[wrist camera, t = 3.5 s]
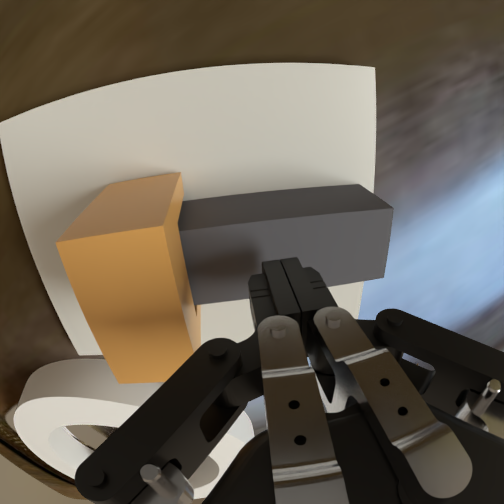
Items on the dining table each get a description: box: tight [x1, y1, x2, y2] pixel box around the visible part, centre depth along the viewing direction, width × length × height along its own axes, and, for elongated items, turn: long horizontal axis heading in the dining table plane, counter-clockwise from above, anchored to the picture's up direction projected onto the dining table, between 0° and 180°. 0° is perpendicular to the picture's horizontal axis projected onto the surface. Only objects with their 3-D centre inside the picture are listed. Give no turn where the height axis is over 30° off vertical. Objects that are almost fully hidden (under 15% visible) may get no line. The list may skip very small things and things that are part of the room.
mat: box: [0, 63, 376, 355], centre depth 18 cm, size 18×22×2 cm
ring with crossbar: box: [14, 359, 254, 499], centre depth 28 cm, size 28×28×5 cm
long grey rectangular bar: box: [178, 184, 394, 305], centre depth 16 cm, size 4×14×4 cm, turn 94°
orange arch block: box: [55, 172, 201, 384], centre depth 14 cm, size 7×4×7 cm, turn 4°
